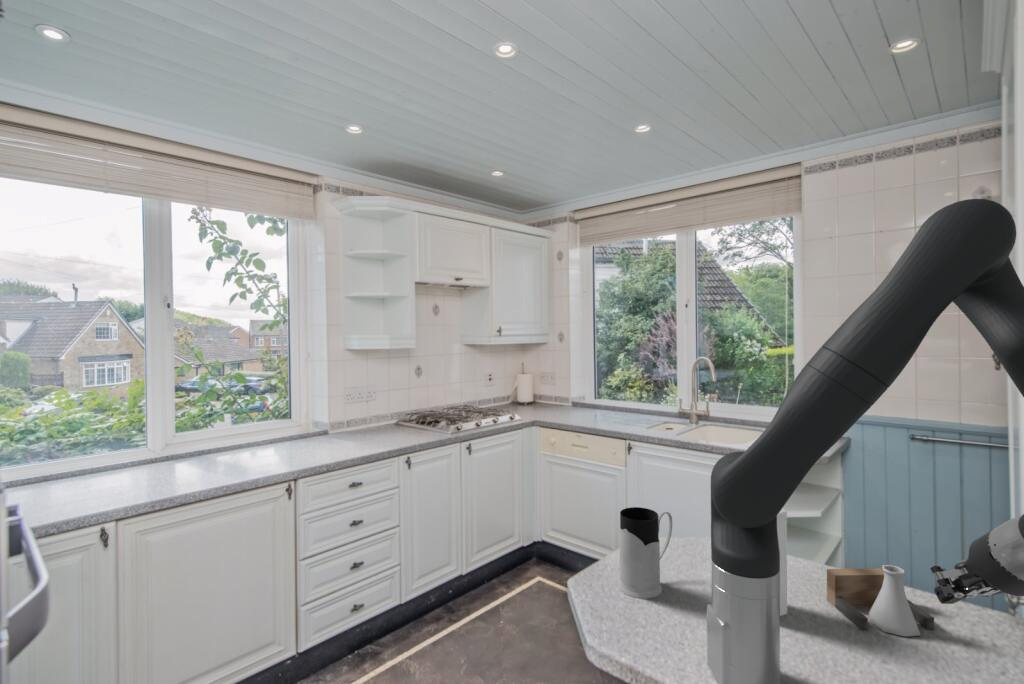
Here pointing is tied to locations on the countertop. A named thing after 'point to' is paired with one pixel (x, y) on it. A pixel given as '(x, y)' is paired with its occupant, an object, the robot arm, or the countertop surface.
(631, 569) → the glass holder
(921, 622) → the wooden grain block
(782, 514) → the milk
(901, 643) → the countertop surface
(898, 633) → the flask
